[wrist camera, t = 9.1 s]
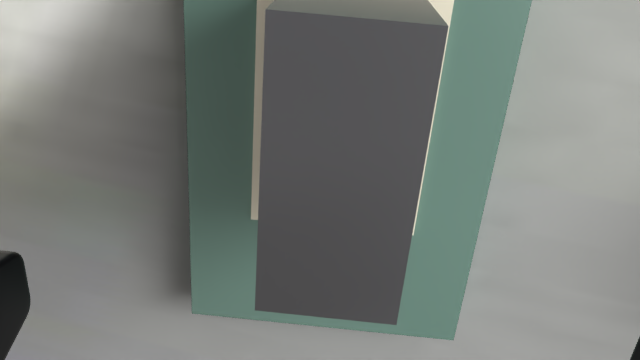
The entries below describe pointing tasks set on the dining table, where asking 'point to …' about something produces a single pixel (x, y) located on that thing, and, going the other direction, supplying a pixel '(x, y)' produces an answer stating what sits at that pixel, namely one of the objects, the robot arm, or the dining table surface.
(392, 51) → the block
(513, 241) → the dining table surface
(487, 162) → the header board
